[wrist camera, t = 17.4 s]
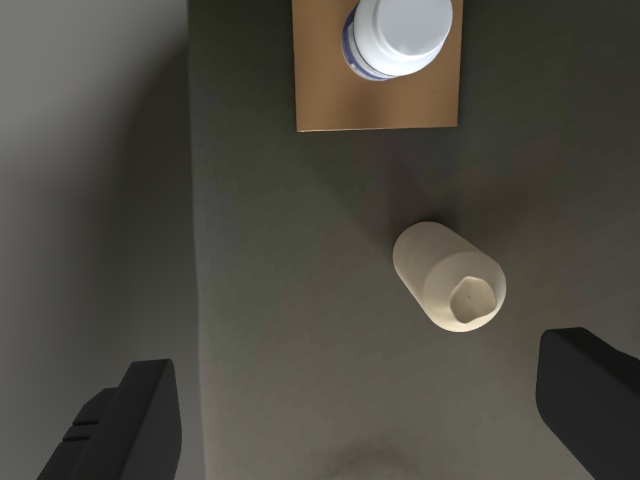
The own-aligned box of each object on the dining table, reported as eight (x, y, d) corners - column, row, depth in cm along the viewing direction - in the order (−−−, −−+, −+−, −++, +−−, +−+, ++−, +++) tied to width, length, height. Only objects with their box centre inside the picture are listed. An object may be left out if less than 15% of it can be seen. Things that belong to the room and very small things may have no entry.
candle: (469, 235, 39) (533, 277, 29) (439, 294, 40) (491, 353, 30) (409, 210, 38) (454, 245, 28) (380, 272, 39) (414, 325, 29)
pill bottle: (399, -15, 33) (447, -63, 24) (425, 62, 34) (481, 45, 25) (327, 18, 33) (347, -16, 24) (356, 93, 35) (386, 88, 25)
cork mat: (296, 131, 35) (297, 131, 35) (289, -52, 32) (289, -55, 32) (454, 126, 36) (457, 126, 36) (463, -53, 33) (466, -55, 33)
